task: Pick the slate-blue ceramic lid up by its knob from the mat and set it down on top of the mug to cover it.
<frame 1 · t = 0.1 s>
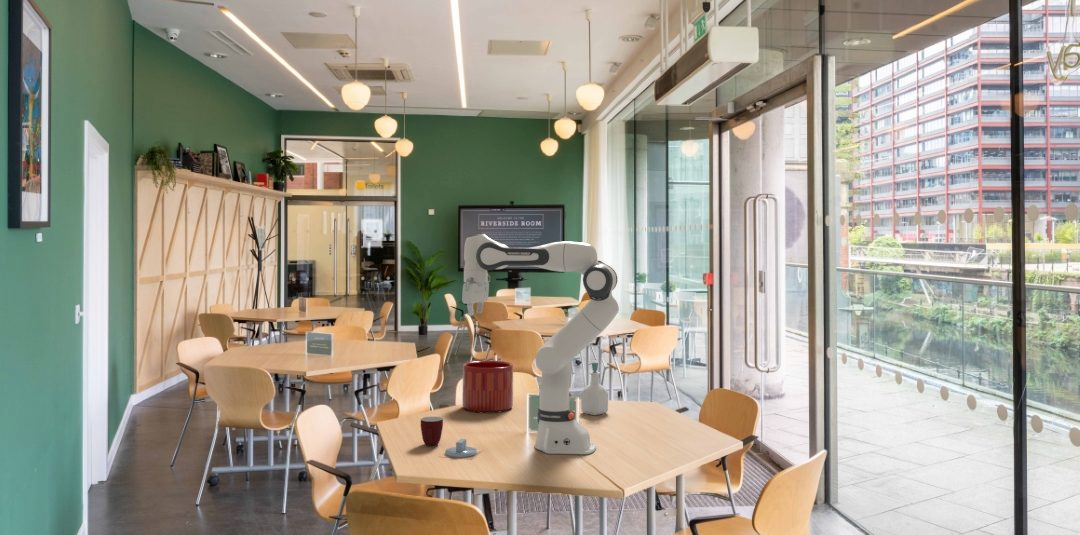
hand: (475, 314, 270), 48 cm above the table, fingers open, 8 cm apart
soap bottle: (594, 413, 321), on the table
mug: (431, 447, 262), on the table
planter: (487, 408, 330), on the table
mat: (461, 455, 252), on the table
lid: (461, 453, 252), point 1 cm above the table, touching mat
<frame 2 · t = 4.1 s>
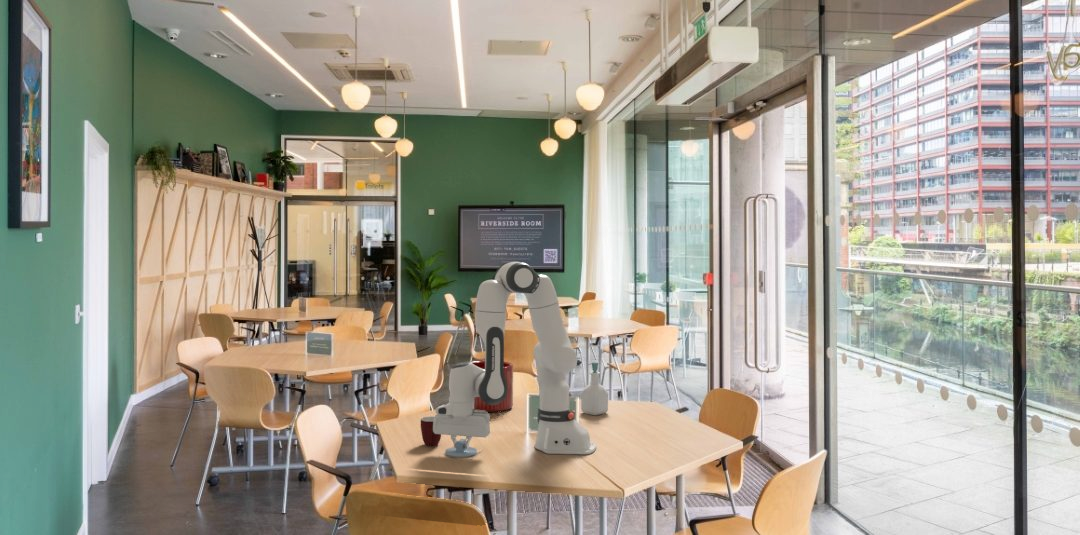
hand: (461, 448, 252), 2 cm above the table, fingers closed on lid, 2 cm apart
lid: (461, 453, 252), point 1 cm above the table, touching gripper, mat
everything else where it was.
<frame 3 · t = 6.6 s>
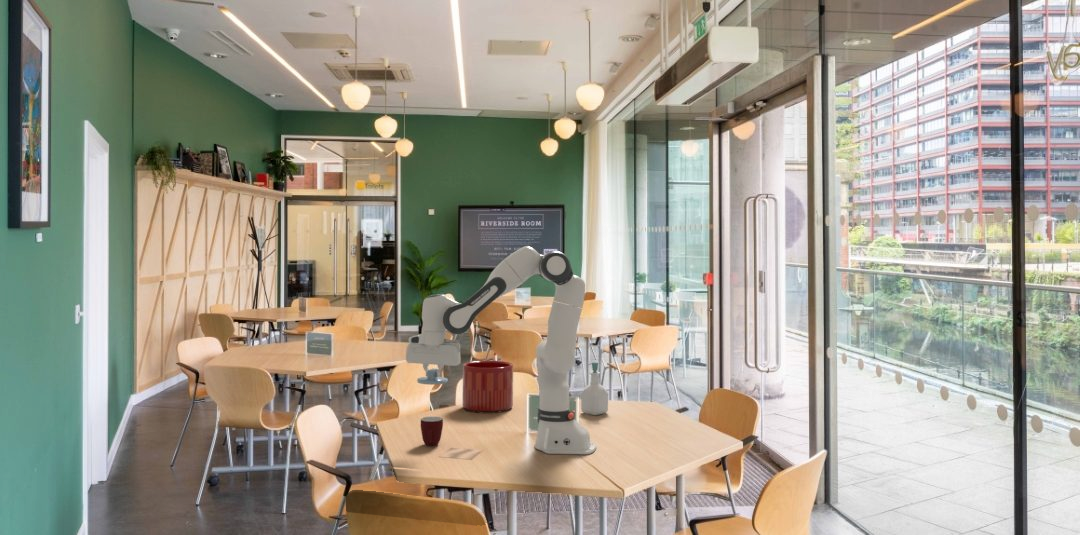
hand: (432, 376, 261), 26 cm above the table, fingers closed on lid
lid: (432, 381, 261), point 24 cm above the table, touching gripper
everything else where it was.
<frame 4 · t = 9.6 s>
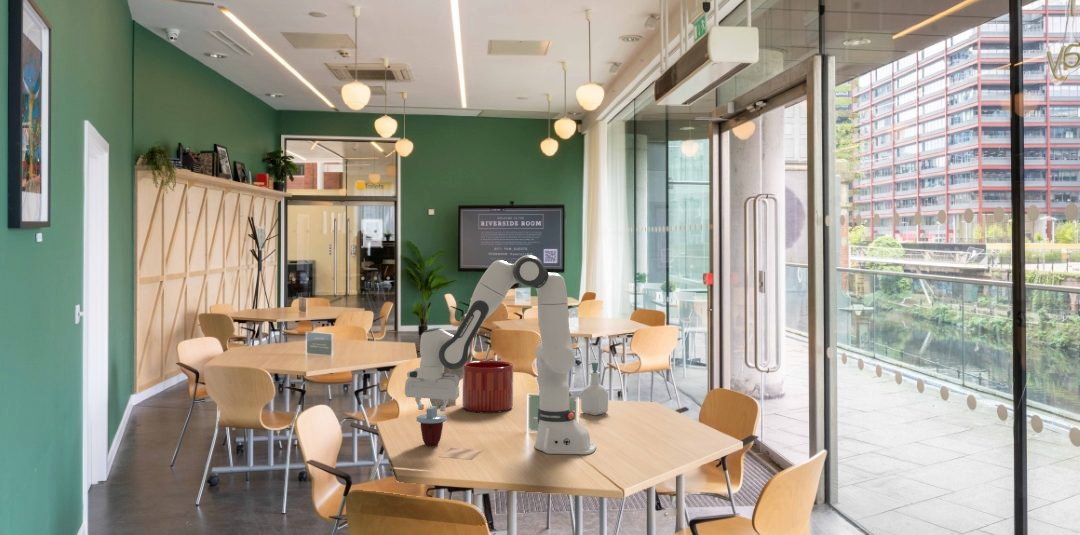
hand: (431, 410, 262), 13 cm above the table, fingers open, 7 cm apart
mug: (431, 447, 262), on the table, touching lid
lid: (431, 419, 262), point 10 cm above the table, touching mug
everything else where it was.
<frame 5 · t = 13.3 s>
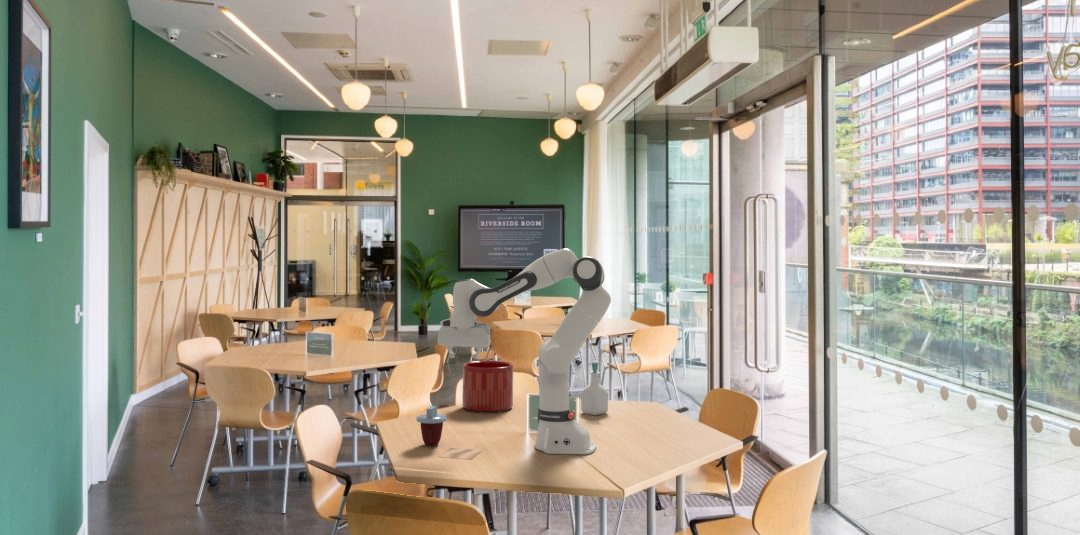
hand: (464, 358, 271), 31 cm above the table, fingers open, 8 cm apart
nothing on the table moved.
at the end: lid 0.1 cm from the mug (horizontally); lid point 10.0 cm above the table; lid tilted 0° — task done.
